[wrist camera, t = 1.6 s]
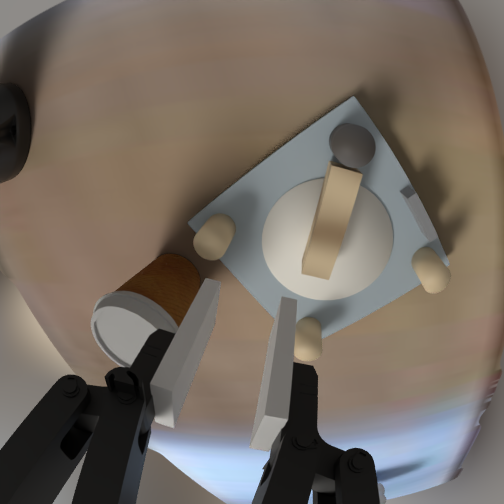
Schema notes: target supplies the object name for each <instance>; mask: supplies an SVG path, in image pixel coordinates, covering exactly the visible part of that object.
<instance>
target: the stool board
mask: <svg viewBox="0 0 504 504" xmlns="http://www.w3.org/2000/svg"><path fill="white" fill-rule="evenodd" d="M344 123H350V124H355V125H359V126H362V127H364V128H366V129H367V130H368V131H369V132H370V133H371V134H372V136H373V138H374V140H375V144H376V150H375V154H374V157H373V158H372V160H371V161H370V162H369V163H368V164H367V165H365V166H363V167H360V168H357V169H358V170H359V171H360V172H361V173H362V174H363V175H362V179H361V182H360V186H359V189H358V193H357V196H356V200H355V203H354V206H353V209H352V213H351V216H350V219H349V222H348V225H347V229H346V232H345V235H344V238H343V241H342V244H341V247H340V250H339V253H338V256H337V259H336V261H335V264H334V267H333V270H332V273H331V276H330V278H329V280H326V279H322V278H317V277H313V276H309V275H304V274H301V273H302V258H303V254H304V251H305V247H306V244H307V241H308V237H309V233H310V230H311V226H312V223H313V219H314V215H315V212H316V208H317V204H318V201H319V197H320V193H321V189H322V185H323V182H324V178H325V174H326V170H327V166H328V162H329V161H333V162H337V163H340V164H342V163H341V162H340V161H339V160H338V159H337V158H336V157H335V155H334V154H333V153H332V151H331V149H330V146H329V137H330V134H331V132H332V131H333V129H334V128H335V127H337V126H338V125H341V124H344ZM188 225H189V226H190V227H191V228H192V229H193V230H194V231H195V232H196V235H195V237H194V240H193V245H194V249H195V251H196V252H197V253H198V255H199V256H201V257H202V258H204V259H207V260H217V259H220V260H221V262H222V263H223V264H224V265H225V266H226V267H227V268H228V269H229V270H230V271H231V273H232V274H233V275H234V276H235V277H236V278H237V279H238V280H239V281H240V282H241V284H242V285H243V286H244V287H245V288H246V289H247V290H248V291H249V292H250V293H251V294H252V295H253V297H254V298H255V299H256V300H257V301H258V302H259V303H260V304H261V305H262V306H263V307H264V308H265V310H266V311H267V312H268V313H269V314H270V315H271V316H272V317H273V318H274V319H275V317H276V314H277V310H278V307H279V304H280V300H281V297H282V296H283V297H287V298H292V299H296V300H297V314H296V331H295V346H294V355H295V356H296V357H297V358H298V359H300V360H302V361H313V360H315V359H317V358H319V357H320V356H321V354H322V339H323V338H325V337H327V336H329V335H331V334H333V333H335V332H337V331H339V330H341V329H343V328H345V327H346V326H348V325H350V324H352V323H354V322H356V321H358V320H360V319H361V318H363V317H365V316H367V315H369V314H371V313H372V312H374V311H376V310H378V309H379V308H381V307H383V306H385V305H386V304H388V303H390V302H392V301H393V300H395V299H397V298H398V297H400V296H402V295H403V294H405V293H407V292H408V291H410V290H411V289H413V288H415V287H416V286H418V285H419V284H421V283H422V285H423V287H424V288H425V290H426V291H427V292H429V293H438V292H440V291H442V290H443V289H445V288H446V287H447V285H448V284H449V281H450V277H451V274H450V271H449V269H448V268H447V266H449V265H450V264H449V261H448V259H447V257H446V254H445V252H444V250H443V247H442V245H441V243H440V240H439V238H438V235H437V233H436V231H435V229H434V226H433V224H432V222H431V220H430V218H429V216H428V214H427V212H426V210H425V208H424V206H423V204H422V202H421V200H420V198H419V196H418V195H417V193H416V192H415V190H414V188H413V186H412V184H411V183H410V181H409V179H408V177H407V176H406V174H405V172H404V170H403V169H402V167H401V165H400V164H399V162H398V160H397V159H396V157H395V155H394V154H393V152H392V151H391V149H390V147H389V146H388V144H387V143H386V141H385V140H384V138H383V136H382V135H381V133H380V132H379V130H378V129H377V128H376V126H375V125H374V123H373V122H372V120H371V119H370V117H369V116H368V115H367V113H366V112H365V110H364V109H363V108H362V106H361V105H360V103H359V102H358V101H357V99H356V98H355V97H354V96H352V97H350V98H349V99H347V100H346V101H344V102H343V103H341V104H340V105H339V106H337V107H336V108H334V109H333V110H331V111H330V112H328V113H327V114H326V115H324V116H323V117H321V118H320V119H318V120H317V121H316V122H314V123H313V124H311V125H310V126H309V127H307V128H306V129H305V130H303V131H302V132H300V133H299V134H298V135H296V136H295V137H294V138H292V139H291V140H289V141H288V142H287V143H285V144H284V145H283V146H281V147H280V148H279V149H277V150H276V151H275V152H273V153H272V154H271V155H270V156H268V157H267V158H266V159H264V160H263V161H262V162H260V163H259V164H258V165H257V166H255V167H254V168H253V169H251V170H250V171H249V172H248V173H246V174H245V175H244V176H243V177H241V178H240V179H239V180H237V181H236V182H235V183H234V184H232V185H231V186H230V187H229V188H228V189H226V190H225V191H224V192H223V193H221V194H220V195H219V196H218V197H217V198H215V199H214V200H213V201H212V202H210V203H209V204H208V205H207V206H206V207H204V208H203V209H202V210H201V211H200V212H198V213H197V214H196V215H195V216H194V217H193V218H192V219H191V220H190V221H189V222H188Z"/></svg>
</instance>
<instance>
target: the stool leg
mask: <svg viewBox="0 0 504 504" xmlns="http://www.w3.org/2000/svg"><path fill="white" fill-rule="evenodd" d="M329 146H330V149H331V151H332V153H333V154H334V155H335V157H336V158H337V159H338V160H339V161H340V162H341V163H342V164H340V163H337V162H333V161H329V162H328V166H327V170H326V174H325V178H324V182H323V185H322V189H321V193H320V197H319V201H318V204H317V208H316V212H315V215H314V219H313V223H312V226H311V230H310V233H309V237H308V241H307V244H306V247H305V251H304V254H303V258H302V273H301V274H304V275H309V276H313V277H317V278H322V279H326V280H329V278H330V276H331V273H332V270H333V267H334V264H335V261H336V259H337V256H338V253H339V250H340V247H341V244H342V241H343V238H344V235H345V232H346V229H347V225H348V222H349V219H350V216H351V213H352V209H353V206H354V203H355V200H356V196H357V193H358V189H359V186H360V182H361V179H362V175H363V174H362V173H361V172H360V171H359V170H358V169H357V168H360V167H363V166H365V165H367V164H368V163H369V162H370V161H371V160H372V158H373V157H374V154H375V150H376V144H375V140H374V138H373V136H372V134H371V133H370V132H369V131H368V130H367V129H366V128H364V127H362V126H359V125H355V124H350V123H344V124H341V125H338V126H337V127H335V128H334V129H333V131H332V132H331V134H330V137H329Z"/></svg>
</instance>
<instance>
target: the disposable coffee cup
mask: <svg viewBox="0 0 504 504" xmlns="http://www.w3.org/2000/svg"><path fill="white" fill-rule="evenodd" d="M199 287H200V276H199V273H198V271H197V269H196V268H195V267H194V265H193V264H192V263H191V262H190V261H189V260H187V259H186V258H184V257H182V256H180V255H177V254H164V255H161V256H160V257H158V258H157V259H156V260H154V261H153V262H152V263H150V264H149V265H148V266H146V267H145V268H144V269H143V270H141V271H140V272H139V273H137V274H136V275H135V276H133V277H132V278H131V279H130V280H128V281H127V282H126V283H125V284H123V285H122V286H121V287H120V288H118V289H117V290H116V291H115V292H112V293H108V294H106V295H104V296H103V297H101V298H100V299H99V300H98V301H97V302H96V304H95V307H94V311H93V316H92V318H91V329H92V333H93V336H94V338H95V340H96V342H97V344H98V345H99V347H100V348H101V349H102V351H103V352H104V353H105V354H106V355H107V356H108V357H109V358H110V359H111V360H113V361H114V362H115V363H116V364H118V365H119V366H121V367H129V368H130V367H131V365H132V363H133V362H134V360H135V358H136V357H137V355H138V353H140V350H141V348H142V347H143V345H144V343H145V342H146V340H147V338H148V337H149V335H150V334H152V333H153V332H155V331H156V330H157V329H163V330H166V331H169V332H172V333H176V332H177V330H178V329H179V327H180V325H181V323H182V321H183V319H184V317H185V315H186V314H187V312H188V310H189V308H190V306H191V304H192V302H193V301H194V299H195V297H196V295H197V293H198V290H199Z"/></svg>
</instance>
